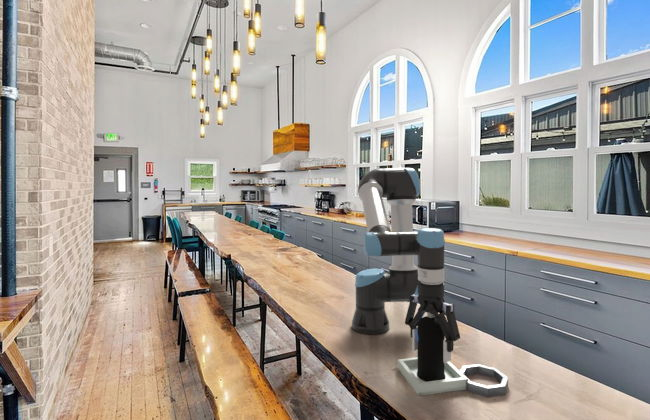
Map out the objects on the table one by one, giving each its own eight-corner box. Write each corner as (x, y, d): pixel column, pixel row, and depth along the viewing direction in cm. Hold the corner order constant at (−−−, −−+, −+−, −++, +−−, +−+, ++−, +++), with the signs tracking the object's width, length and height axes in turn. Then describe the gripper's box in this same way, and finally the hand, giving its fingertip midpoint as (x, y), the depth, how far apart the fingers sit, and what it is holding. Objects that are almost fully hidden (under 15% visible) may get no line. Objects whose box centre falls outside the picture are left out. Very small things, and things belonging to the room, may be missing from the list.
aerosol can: (451, 377, 106) (451, 311, 105) (432, 386, 102) (432, 317, 100) (429, 365, 113) (429, 303, 112) (410, 373, 109) (410, 309, 107)
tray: (397, 368, 114) (397, 359, 113) (441, 363, 116) (441, 354, 116) (418, 395, 99) (418, 385, 99) (468, 389, 102) (468, 378, 101)
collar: (451, 375, 109) (451, 367, 109) (488, 370, 111) (488, 362, 111) (475, 399, 97) (475, 390, 97) (516, 393, 99) (517, 384, 99)
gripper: (392, 276, 112) (393, 346, 113) (459, 292, 94) (459, 374, 96) (407, 272, 116) (407, 339, 118) (474, 286, 99) (473, 364, 101)
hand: (431, 355), depth 107 cm, fingers open, 10 cm apart
